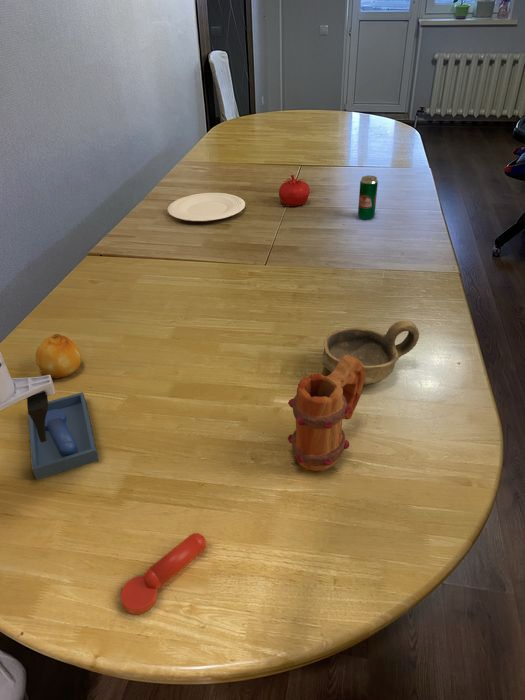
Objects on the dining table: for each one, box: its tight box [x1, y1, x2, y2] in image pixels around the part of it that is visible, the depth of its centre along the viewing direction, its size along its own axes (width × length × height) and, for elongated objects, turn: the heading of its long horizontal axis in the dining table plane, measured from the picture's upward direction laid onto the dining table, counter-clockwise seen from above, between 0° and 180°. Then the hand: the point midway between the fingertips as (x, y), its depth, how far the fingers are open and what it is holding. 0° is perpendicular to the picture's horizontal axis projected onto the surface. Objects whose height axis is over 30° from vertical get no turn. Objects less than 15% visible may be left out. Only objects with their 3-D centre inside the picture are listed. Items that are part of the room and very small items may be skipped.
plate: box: [167, 192, 246, 223], centre depth 166 cm, size 25×25×2 cm
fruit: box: [35, 333, 82, 379], centre depth 98 cm, size 8×8×8 cm
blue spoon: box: [45, 409, 77, 456], centre depth 84 cm, size 12×4×3 cm, turn 35°
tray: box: [27, 391, 100, 480], centre depth 84 cm, size 15×9×2 cm, turn 23°
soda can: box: [357, 174, 379, 221], centre depth 154 cm, size 5×5×12 cm
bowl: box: [320, 319, 420, 385], centre depth 93 cm, size 14×18×10 cm
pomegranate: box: [278, 174, 311, 207], centre depth 167 cm, size 10×10×9 cm
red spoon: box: [120, 532, 207, 615], centre depth 64 cm, size 12×4×3 cm, turn 135°
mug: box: [287, 355, 365, 472], centre depth 76 cm, size 15×8×15 cm, turn 136°
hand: (13, 445), depth 70 cm, fingers open, 7 cm apart
